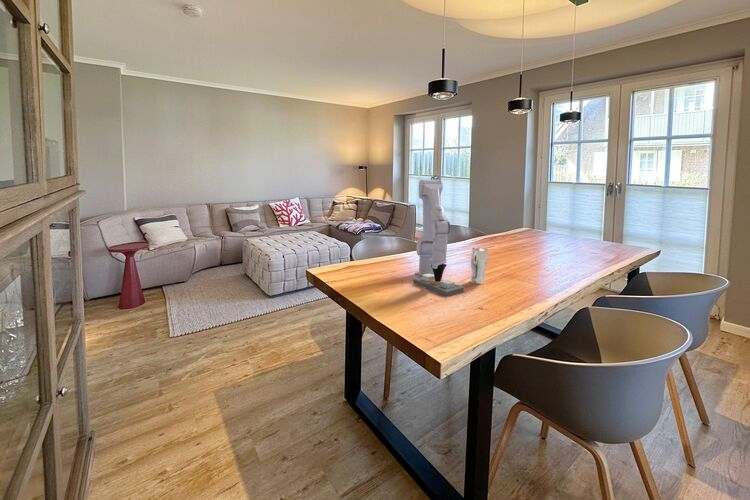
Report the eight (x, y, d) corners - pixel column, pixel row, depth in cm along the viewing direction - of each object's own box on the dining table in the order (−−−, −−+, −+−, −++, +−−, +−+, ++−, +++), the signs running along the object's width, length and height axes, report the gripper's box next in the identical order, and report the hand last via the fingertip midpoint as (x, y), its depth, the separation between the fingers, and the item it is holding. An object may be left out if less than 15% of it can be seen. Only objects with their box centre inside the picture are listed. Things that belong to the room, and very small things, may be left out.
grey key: (447, 285, 155) (447, 279, 155) (454, 288, 152) (454, 282, 152) (440, 287, 153) (440, 281, 152) (447, 289, 150) (447, 283, 149)
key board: (429, 279, 168) (430, 275, 168) (463, 291, 152) (464, 287, 152) (413, 283, 162) (413, 278, 162) (446, 296, 146) (446, 291, 146)
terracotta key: (437, 284, 160) (438, 279, 159) (444, 287, 157) (444, 281, 156) (430, 286, 158) (431, 280, 157) (437, 288, 154) (437, 283, 154)
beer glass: (486, 281, 167) (489, 248, 164) (483, 285, 161) (486, 251, 158) (470, 278, 170) (473, 246, 167) (467, 282, 164) (470, 249, 161)
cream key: (428, 278, 164) (429, 273, 163) (435, 281, 161) (435, 275, 160) (422, 280, 162) (422, 274, 161) (428, 282, 159) (428, 277, 158)
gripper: (434, 245, 162) (433, 275, 165) (425, 252, 149) (423, 284, 152) (450, 247, 159) (449, 277, 162) (442, 253, 146) (440, 287, 149)
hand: (437, 281), depth 157 cm, fingers closed, pressing on terracotta key
